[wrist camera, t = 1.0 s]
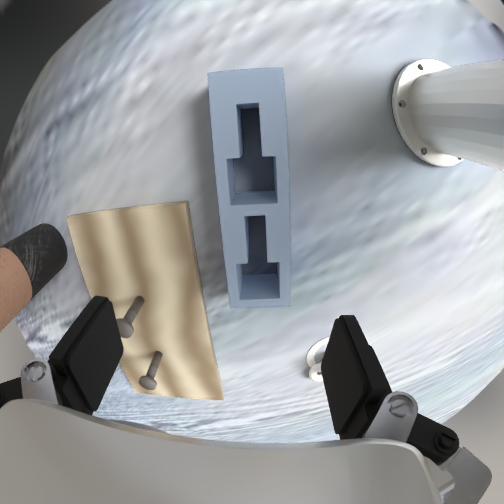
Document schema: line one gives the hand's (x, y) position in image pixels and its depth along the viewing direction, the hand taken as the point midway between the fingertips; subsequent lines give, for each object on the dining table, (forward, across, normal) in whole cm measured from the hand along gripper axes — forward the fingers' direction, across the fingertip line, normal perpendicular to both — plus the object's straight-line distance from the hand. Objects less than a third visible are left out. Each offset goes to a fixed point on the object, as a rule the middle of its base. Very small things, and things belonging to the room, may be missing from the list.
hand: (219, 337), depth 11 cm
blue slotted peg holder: (+19, -1, -2) cm, 19 cm away
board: (+20, +11, +16) cm, 28 cm away
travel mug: (+20, +27, +6) cm, 34 cm away
